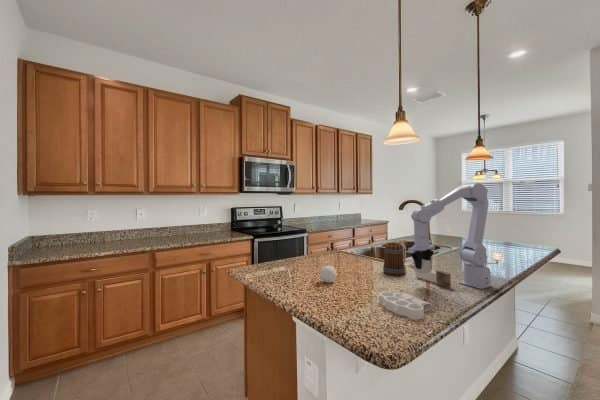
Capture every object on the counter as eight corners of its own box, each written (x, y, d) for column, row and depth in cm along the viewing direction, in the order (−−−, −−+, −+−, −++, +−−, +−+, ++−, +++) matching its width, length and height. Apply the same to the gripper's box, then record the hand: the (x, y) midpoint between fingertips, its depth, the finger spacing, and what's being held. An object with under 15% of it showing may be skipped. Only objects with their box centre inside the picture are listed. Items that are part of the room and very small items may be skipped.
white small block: (430, 272, 115) (430, 260, 115) (424, 273, 113) (423, 261, 113) (420, 269, 120) (420, 258, 120) (414, 271, 118) (413, 259, 118)
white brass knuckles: (440, 314, 90) (408, 323, 84) (399, 297, 106) (370, 303, 100) (440, 304, 90) (407, 313, 84) (399, 288, 106) (369, 294, 100)
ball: (329, 289, 124) (326, 278, 119) (318, 279, 129) (315, 269, 125) (341, 279, 127) (338, 268, 122) (329, 270, 132) (327, 259, 128)
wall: (451, 287, 114) (451, 273, 114) (448, 288, 113) (448, 274, 113) (438, 284, 119) (438, 270, 119) (435, 284, 118) (435, 271, 118)
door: (441, 282, 120) (441, 273, 120) (438, 283, 119) (438, 274, 119) (418, 275, 131) (418, 267, 131) (415, 276, 130) (415, 268, 130)
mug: (401, 277, 131) (401, 246, 131) (380, 274, 137) (379, 244, 137) (410, 269, 143) (409, 241, 143) (390, 267, 150) (389, 240, 150)
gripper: (424, 234, 123) (425, 263, 123) (402, 236, 117) (402, 268, 117) (438, 235, 117) (439, 266, 117) (416, 238, 110) (416, 271, 110)
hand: (422, 267), depth 117 cm, fingers closed on white small block, 4 cm apart
